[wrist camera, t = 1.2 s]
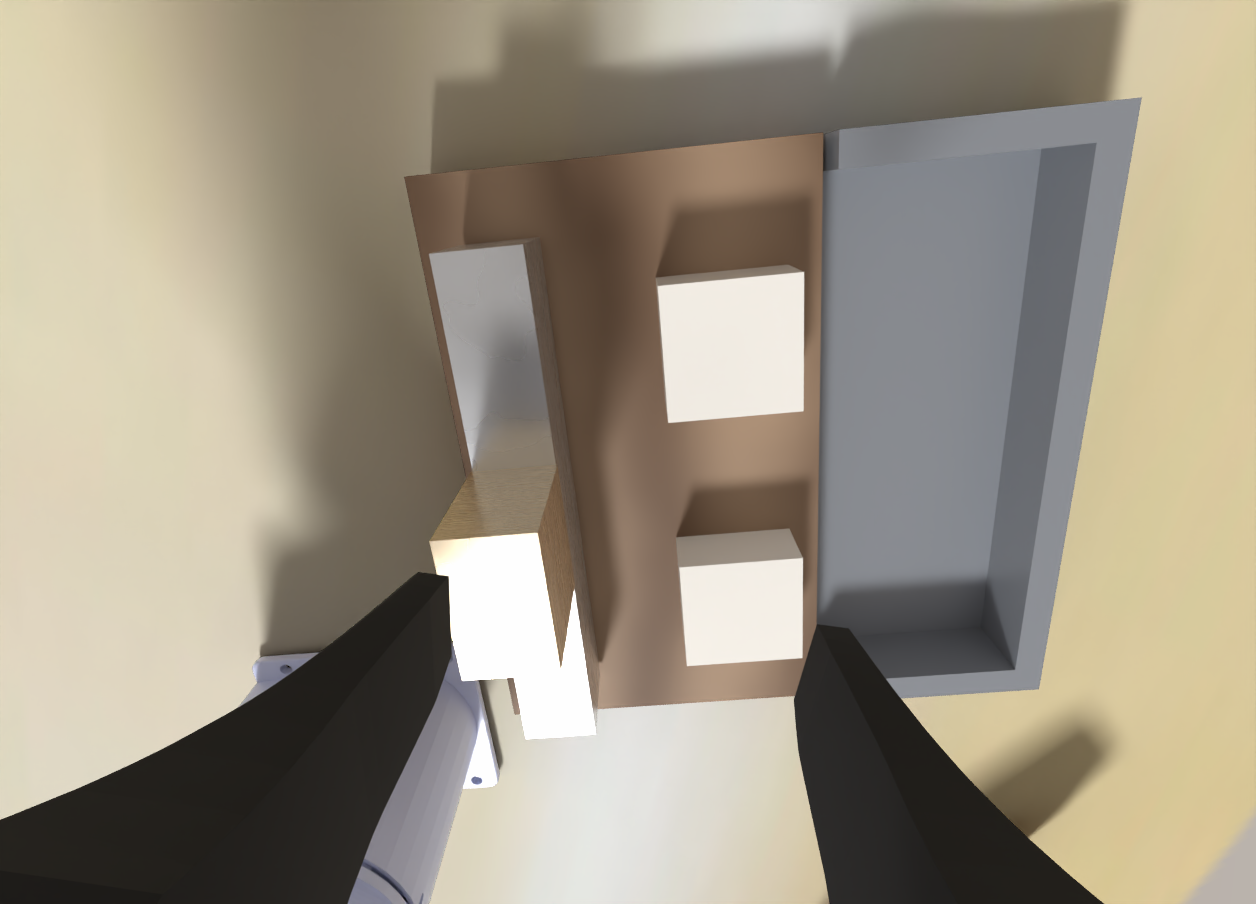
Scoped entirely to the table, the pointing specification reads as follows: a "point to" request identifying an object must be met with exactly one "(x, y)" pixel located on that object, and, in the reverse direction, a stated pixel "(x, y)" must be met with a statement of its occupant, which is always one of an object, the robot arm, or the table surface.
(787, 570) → the tile
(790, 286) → the tile
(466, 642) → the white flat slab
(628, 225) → the board
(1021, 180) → the box
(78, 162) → the table surface
